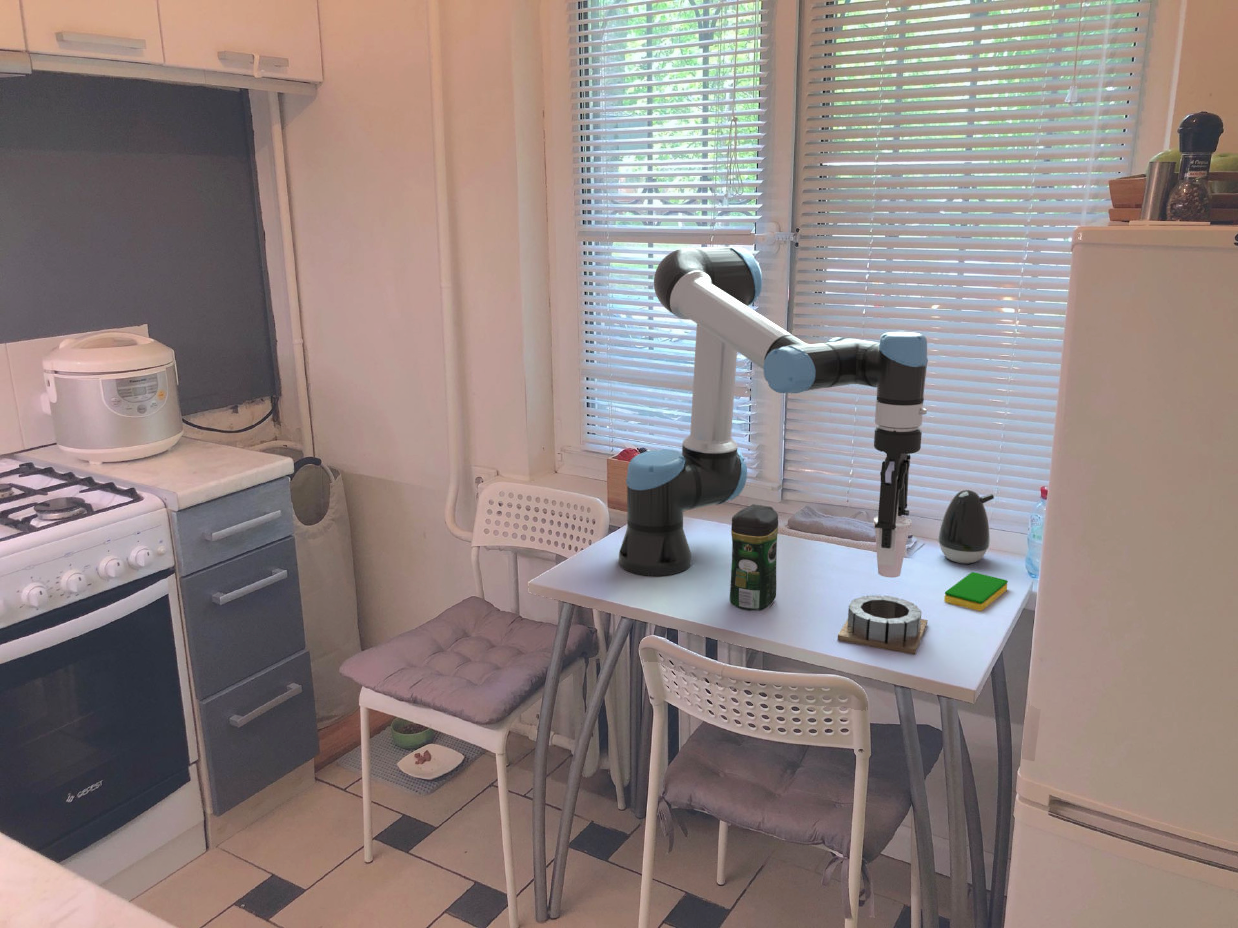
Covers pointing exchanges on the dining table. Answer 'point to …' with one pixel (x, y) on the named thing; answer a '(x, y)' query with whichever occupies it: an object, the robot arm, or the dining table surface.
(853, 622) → the stone fire pit ring
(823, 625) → the dining table surface
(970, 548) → the pump dispenser
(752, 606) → the coffee jar
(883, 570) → the smoothie
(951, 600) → the dish sponge
